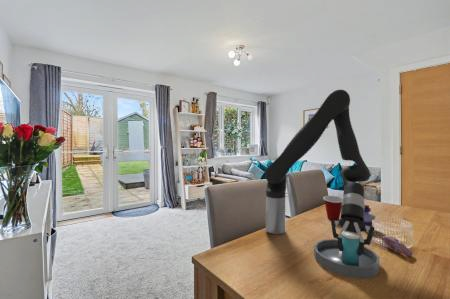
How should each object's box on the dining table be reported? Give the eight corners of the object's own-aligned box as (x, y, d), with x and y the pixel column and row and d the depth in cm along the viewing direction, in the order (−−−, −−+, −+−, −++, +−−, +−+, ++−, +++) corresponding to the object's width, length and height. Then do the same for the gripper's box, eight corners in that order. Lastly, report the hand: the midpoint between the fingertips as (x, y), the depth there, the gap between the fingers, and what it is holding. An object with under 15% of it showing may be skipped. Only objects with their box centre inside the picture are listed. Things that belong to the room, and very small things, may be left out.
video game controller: (383, 249, 94) (377, 235, 94) (392, 244, 95) (386, 229, 94) (405, 261, 84) (397, 246, 84) (414, 255, 85) (407, 240, 84)
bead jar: (343, 266, 75) (344, 236, 74) (339, 257, 80) (339, 230, 79) (361, 268, 73) (362, 238, 73) (356, 259, 79) (356, 231, 78)
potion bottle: (354, 224, 118) (354, 202, 118) (373, 227, 114) (374, 204, 114) (356, 230, 110) (356, 206, 110) (376, 233, 106) (377, 208, 106)
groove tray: (320, 273, 74) (320, 263, 74) (310, 245, 95) (310, 237, 95) (391, 282, 70) (391, 271, 70) (365, 250, 90) (365, 241, 90)
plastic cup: (323, 220, 124) (323, 199, 123) (322, 214, 134) (322, 195, 133) (345, 223, 120) (345, 201, 119) (342, 217, 130) (343, 196, 129)
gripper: (331, 200, 86) (325, 242, 76) (375, 205, 78) (376, 254, 69) (332, 210, 91) (327, 251, 81) (375, 216, 83) (375, 262, 73)
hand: (350, 252), depth 75 cm, fingers closed on bead jar, 5 cm apart
